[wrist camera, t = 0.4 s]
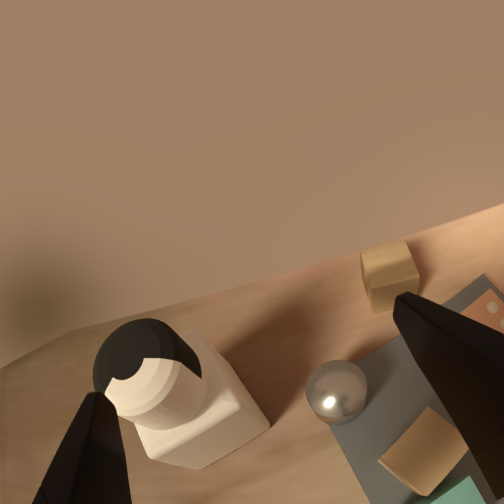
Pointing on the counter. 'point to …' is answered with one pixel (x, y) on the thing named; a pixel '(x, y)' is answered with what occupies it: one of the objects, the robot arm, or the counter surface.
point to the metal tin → (337, 392)
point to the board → (409, 405)
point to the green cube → (454, 493)
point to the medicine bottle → (176, 393)
